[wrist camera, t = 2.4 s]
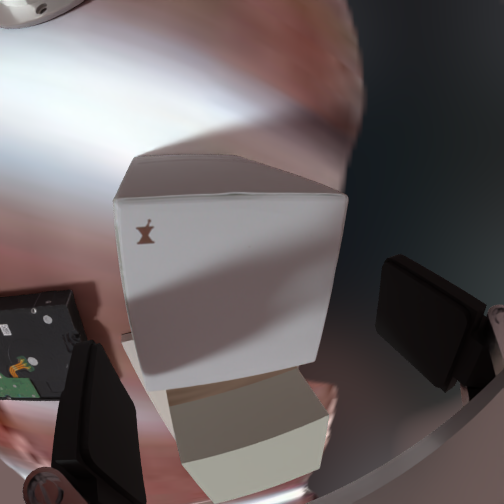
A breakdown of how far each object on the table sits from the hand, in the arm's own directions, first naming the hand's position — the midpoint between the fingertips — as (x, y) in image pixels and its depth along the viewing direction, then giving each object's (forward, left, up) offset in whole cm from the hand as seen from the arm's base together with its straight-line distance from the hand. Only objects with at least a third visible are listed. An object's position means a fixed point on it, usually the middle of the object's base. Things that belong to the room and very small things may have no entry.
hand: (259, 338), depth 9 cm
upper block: (+16, 0, -8) cm, 18 cm away
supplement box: (-1, 0, -14) cm, 14 cm away
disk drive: (+7, -18, -14) cm, 24 cm away
